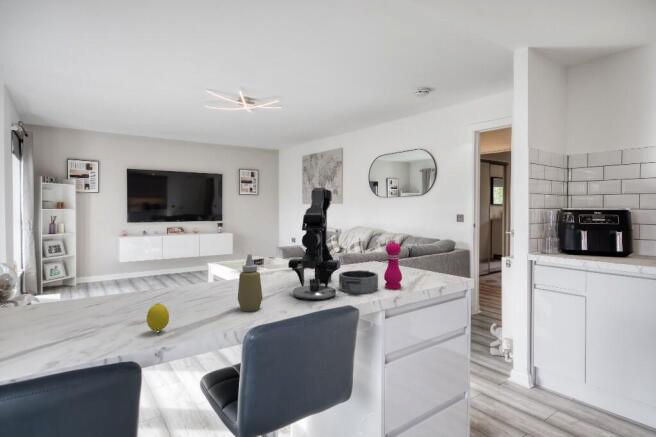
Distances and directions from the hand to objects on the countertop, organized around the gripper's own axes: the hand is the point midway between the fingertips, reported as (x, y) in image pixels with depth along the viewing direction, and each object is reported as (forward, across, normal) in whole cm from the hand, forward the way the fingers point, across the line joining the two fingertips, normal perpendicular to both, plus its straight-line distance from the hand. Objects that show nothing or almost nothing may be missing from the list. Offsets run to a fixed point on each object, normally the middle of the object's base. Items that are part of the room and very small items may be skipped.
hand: (314, 287), depth 140 cm
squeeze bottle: (+3, -15, -22) cm, 27 cm away
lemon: (+3, -29, -48) cm, 56 cm away
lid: (+3, 0, 0) cm, 3 cm away
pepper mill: (+3, +27, +20) cm, 34 cm away
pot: (+3, +14, +14) cm, 20 cm away
